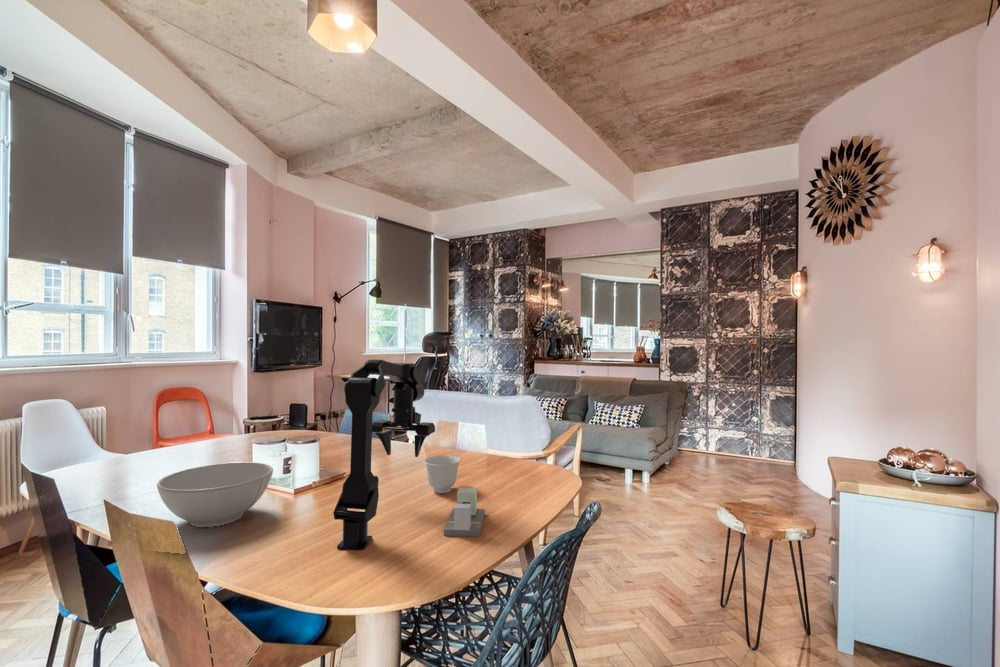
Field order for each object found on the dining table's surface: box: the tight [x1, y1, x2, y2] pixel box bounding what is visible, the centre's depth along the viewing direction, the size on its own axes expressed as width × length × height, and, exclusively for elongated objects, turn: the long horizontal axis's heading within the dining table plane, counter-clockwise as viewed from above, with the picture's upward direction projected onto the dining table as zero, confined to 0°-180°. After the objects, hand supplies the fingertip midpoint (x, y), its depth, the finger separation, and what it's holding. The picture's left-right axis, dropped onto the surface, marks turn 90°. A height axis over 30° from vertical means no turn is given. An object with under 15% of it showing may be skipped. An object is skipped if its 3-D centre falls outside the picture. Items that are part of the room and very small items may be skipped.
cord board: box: [443, 502, 486, 538], centre depth 120 cm, size 15×9×7 cm, turn 177°
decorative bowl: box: [156, 461, 274, 528], centre depth 122 cm, size 27×27×12 cm
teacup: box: [423, 454, 462, 494], centre depth 149 cm, size 12×15×10 cm
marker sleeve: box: [456, 487, 478, 515], centre depth 123 cm, size 4×5×6 cm
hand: (402, 455), depth 135 cm, fingers open, 9 cm apart
